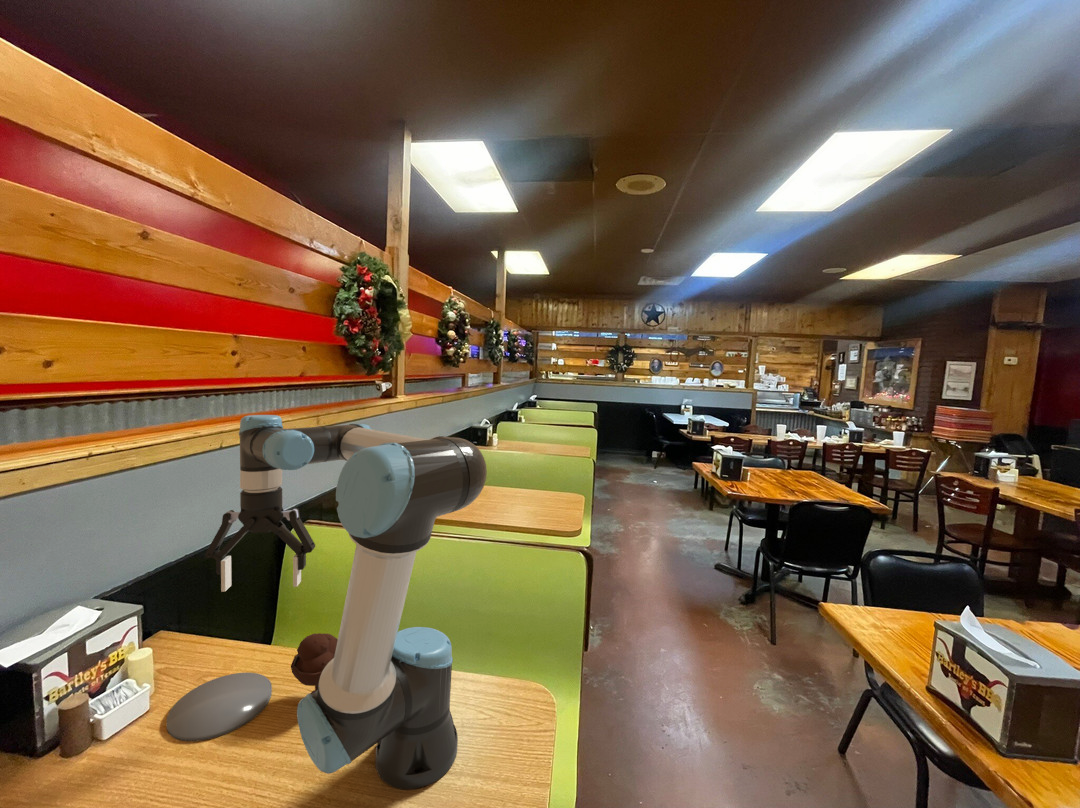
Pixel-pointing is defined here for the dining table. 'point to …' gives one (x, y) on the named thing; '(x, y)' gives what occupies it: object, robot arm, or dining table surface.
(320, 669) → the ice cream bowl
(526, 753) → the dining table surface
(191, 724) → the grey smooth oval disc
